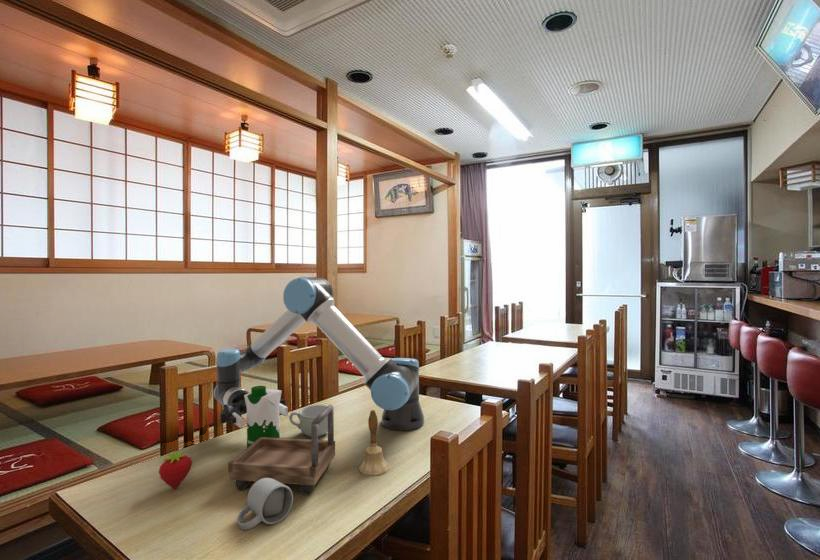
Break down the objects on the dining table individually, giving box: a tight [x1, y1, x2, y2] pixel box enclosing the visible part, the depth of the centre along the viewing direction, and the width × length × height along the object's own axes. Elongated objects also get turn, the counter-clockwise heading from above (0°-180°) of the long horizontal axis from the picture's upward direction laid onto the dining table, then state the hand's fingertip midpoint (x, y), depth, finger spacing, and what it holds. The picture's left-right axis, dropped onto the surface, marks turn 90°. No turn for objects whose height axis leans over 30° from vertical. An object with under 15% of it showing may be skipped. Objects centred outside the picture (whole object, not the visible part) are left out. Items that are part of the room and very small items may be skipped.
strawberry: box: [158, 449, 193, 489], centre depth 101 cm, size 6×8×10 cm
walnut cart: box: [227, 404, 336, 495], centre depth 106 cm, size 22×16×18 cm
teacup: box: [288, 404, 328, 438], centre depth 135 cm, size 14×11×8 cm
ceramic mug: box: [236, 478, 294, 531], centre depth 89 cm, size 11×8×8 cm
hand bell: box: [358, 409, 390, 477], centre depth 111 cm, size 8×8×16 cm
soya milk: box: [244, 385, 282, 448], centre depth 121 cm, size 9×9×20 cm
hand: (265, 417), depth 120 cm, fingers open, 13 cm apart
